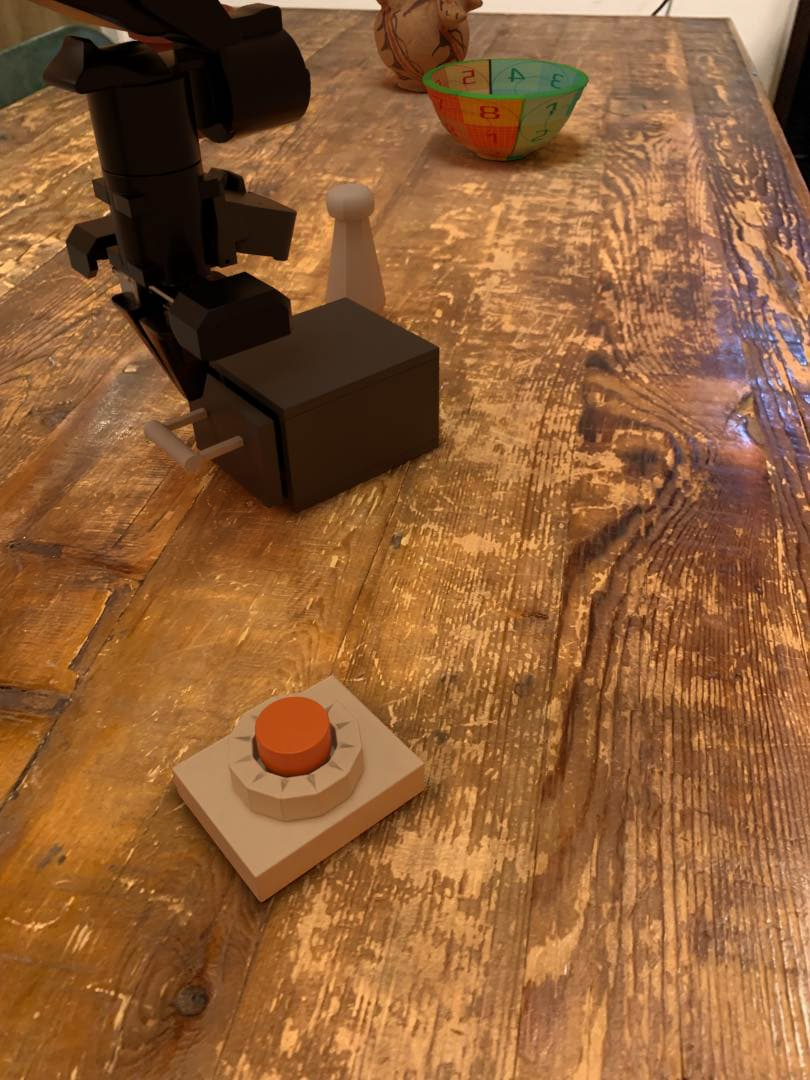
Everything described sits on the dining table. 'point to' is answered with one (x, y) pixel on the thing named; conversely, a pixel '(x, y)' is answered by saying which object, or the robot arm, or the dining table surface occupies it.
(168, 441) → the dark brown drawer
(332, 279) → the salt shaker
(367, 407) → the drawer cabinet
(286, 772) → the button
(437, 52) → the ceramic vessel
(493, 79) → the bowl
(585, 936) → the dining table surface
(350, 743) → the control block
